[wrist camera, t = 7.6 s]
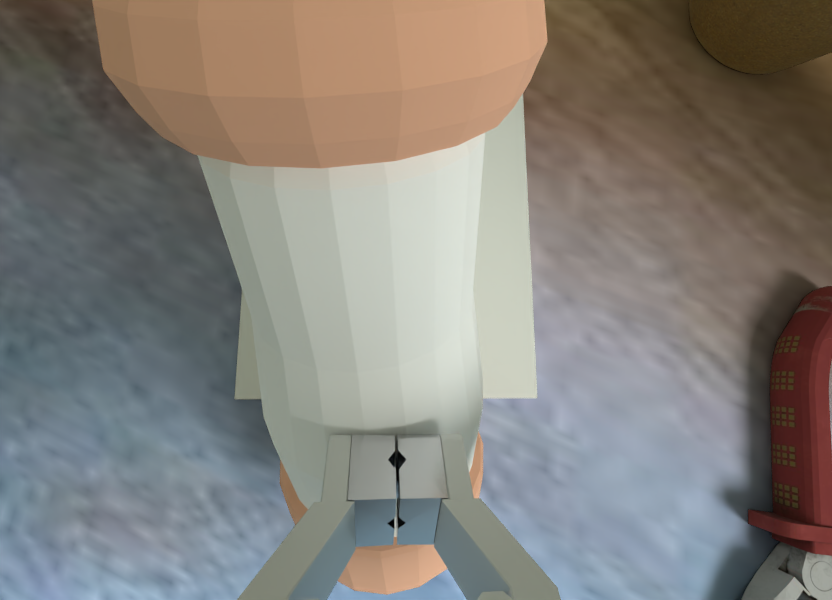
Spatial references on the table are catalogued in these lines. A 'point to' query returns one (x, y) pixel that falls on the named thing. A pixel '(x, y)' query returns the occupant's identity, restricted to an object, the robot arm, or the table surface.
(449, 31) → the pepper shaker
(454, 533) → the robot arm
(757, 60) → the plant pot
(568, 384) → the table surface
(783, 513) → the pliers
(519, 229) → the mat
